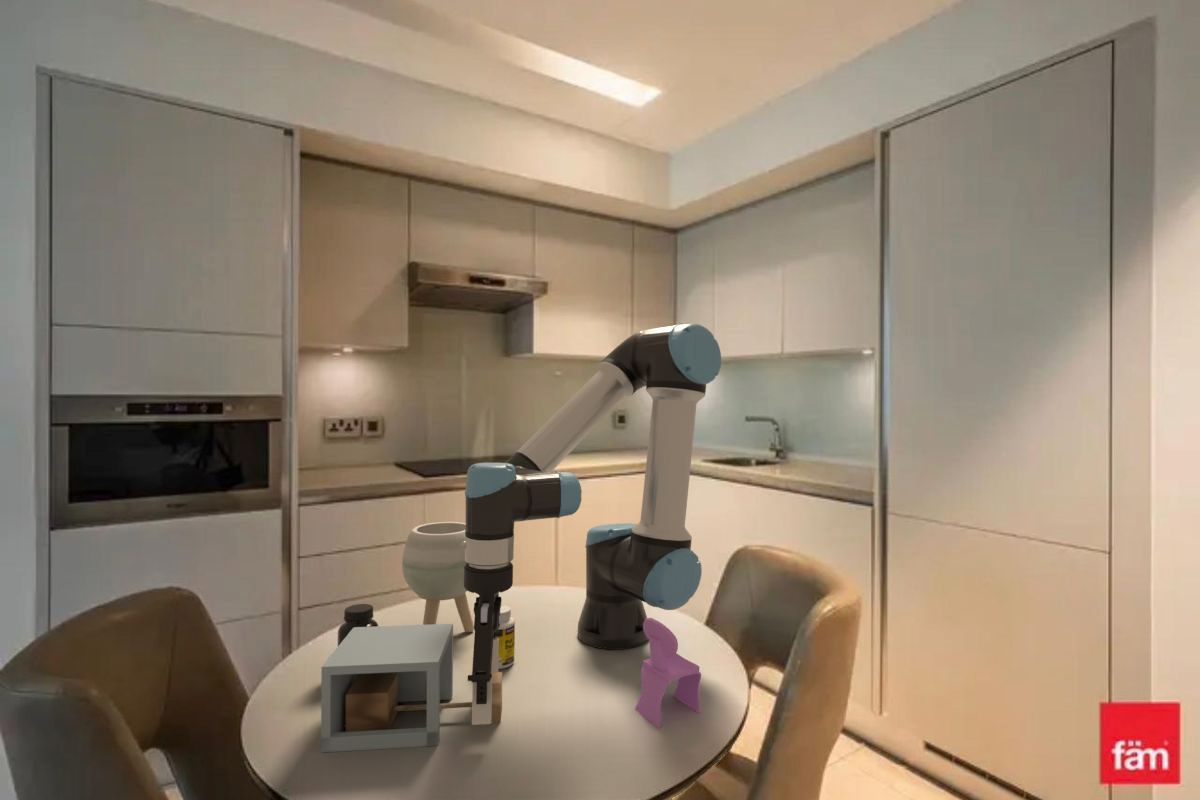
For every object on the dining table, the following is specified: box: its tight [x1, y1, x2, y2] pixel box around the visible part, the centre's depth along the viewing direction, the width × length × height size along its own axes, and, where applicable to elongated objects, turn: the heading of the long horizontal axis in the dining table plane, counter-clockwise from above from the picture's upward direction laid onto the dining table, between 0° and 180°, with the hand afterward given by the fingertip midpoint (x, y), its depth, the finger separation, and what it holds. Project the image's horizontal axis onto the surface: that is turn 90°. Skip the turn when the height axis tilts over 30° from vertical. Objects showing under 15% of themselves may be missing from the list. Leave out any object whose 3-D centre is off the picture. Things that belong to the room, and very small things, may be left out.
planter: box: [401, 521, 475, 633], centre depth 121 cm, size 16×16×22 cm
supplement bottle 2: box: [495, 605, 516, 670], centre depth 108 cm, size 6×6×10 cm
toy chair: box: [634, 617, 702, 729], centre depth 92 cm, size 8×9×15 cm
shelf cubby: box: [320, 623, 454, 753], centre depth 88 cm, size 16×14×12 cm
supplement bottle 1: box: [336, 603, 379, 648], centre depth 103 cm, size 7×7×12 cm
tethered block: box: [345, 671, 503, 732], centre depth 89 cm, size 22×6×6 cm, turn 96°
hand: (485, 699), depth 89 cm, fingers open, 13 cm apart
